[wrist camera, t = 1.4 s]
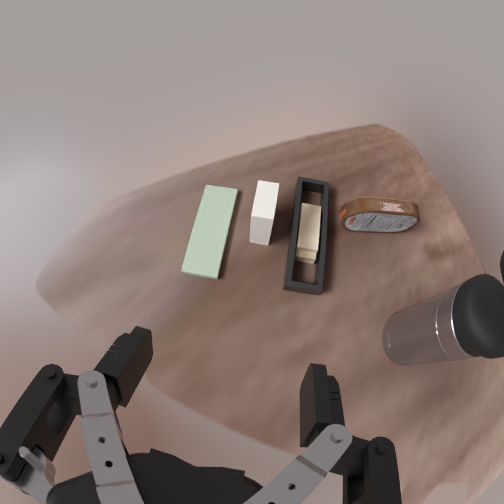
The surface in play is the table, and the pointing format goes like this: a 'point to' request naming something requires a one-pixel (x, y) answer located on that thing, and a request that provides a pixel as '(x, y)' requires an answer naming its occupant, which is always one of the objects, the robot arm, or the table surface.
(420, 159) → the table surface
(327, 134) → the table surface
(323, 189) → the frame
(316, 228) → the offcut stack
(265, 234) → the white rectangular block
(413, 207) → the tin
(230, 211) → the board
